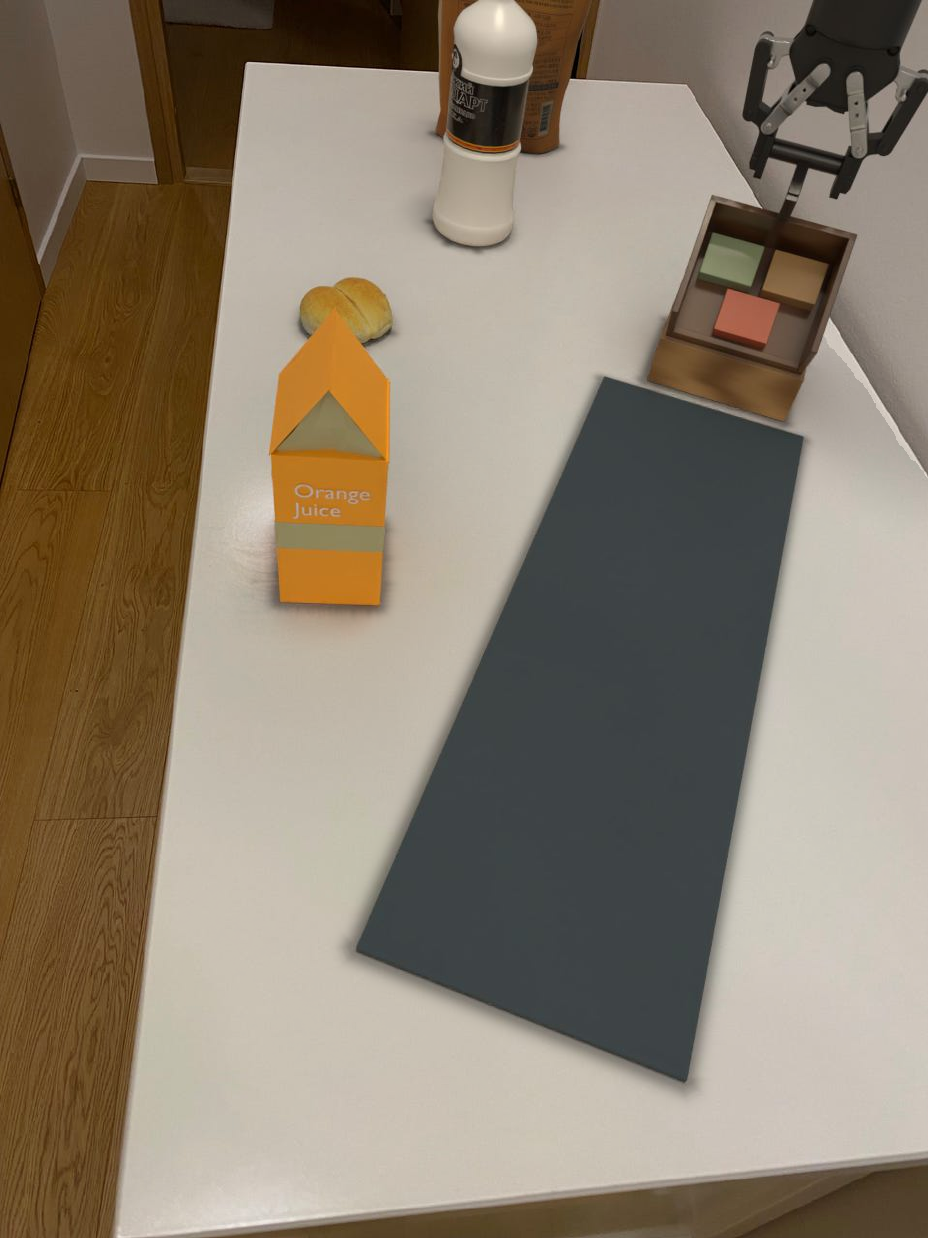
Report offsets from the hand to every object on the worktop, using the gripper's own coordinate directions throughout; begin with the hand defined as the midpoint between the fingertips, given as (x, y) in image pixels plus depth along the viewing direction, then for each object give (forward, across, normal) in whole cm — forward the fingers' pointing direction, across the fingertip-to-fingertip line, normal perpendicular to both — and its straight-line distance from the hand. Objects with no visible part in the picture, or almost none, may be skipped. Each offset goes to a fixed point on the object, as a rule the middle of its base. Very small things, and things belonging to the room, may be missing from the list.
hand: (795, 183), depth 82 cm
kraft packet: (+9, -3, 0) cm, 10 cm away
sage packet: (+9, +3, 0) cm, 10 cm away
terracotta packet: (+12, 0, +3) cm, 12 cm away
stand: (+19, 0, 0) cm, 19 cm away
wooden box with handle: (+10, 0, -1) cm, 10 cm away
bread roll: (+19, +37, +11) cm, 43 cm away
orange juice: (+19, +25, +41) cm, 52 cm away
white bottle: (+20, +32, -13) cm, 40 cm away
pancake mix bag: (+20, +36, -35) cm, 54 cm away
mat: (+19, +1, +38) cm, 43 cm away
